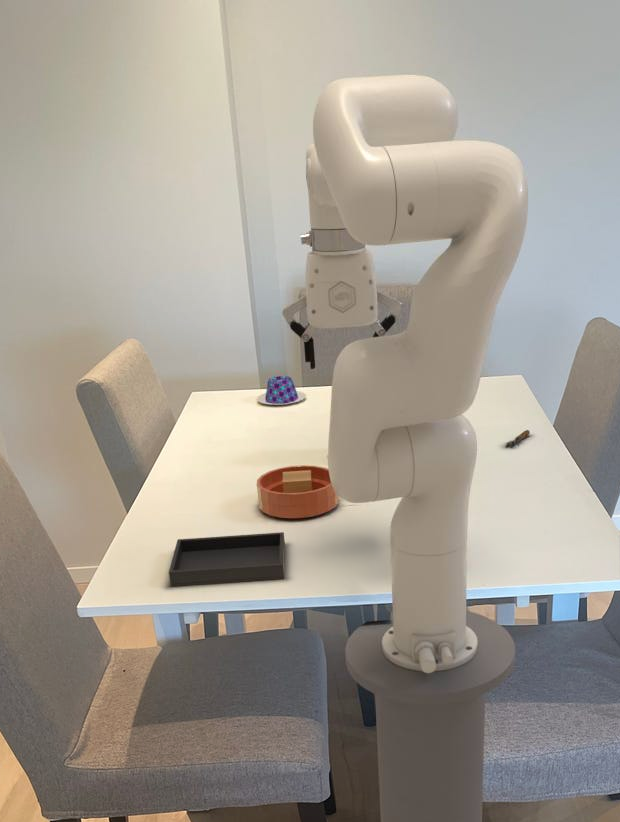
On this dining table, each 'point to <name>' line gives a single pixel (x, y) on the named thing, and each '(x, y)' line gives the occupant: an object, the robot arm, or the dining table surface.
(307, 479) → the block
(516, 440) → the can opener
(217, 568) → the pan
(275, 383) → the pudding
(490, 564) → the dining table surface
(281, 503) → the bowl
